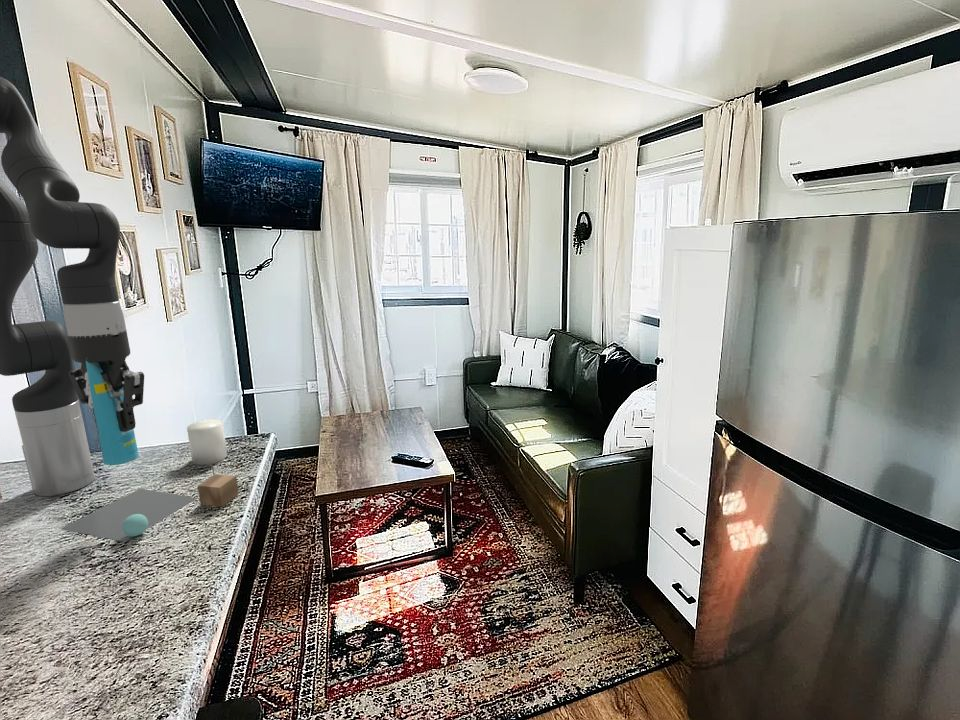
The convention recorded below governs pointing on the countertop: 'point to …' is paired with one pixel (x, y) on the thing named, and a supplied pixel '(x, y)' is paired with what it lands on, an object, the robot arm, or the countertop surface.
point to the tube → (109, 422)
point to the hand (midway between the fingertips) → (116, 428)
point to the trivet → (129, 513)
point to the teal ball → (134, 525)
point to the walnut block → (218, 490)
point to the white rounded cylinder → (207, 441)
